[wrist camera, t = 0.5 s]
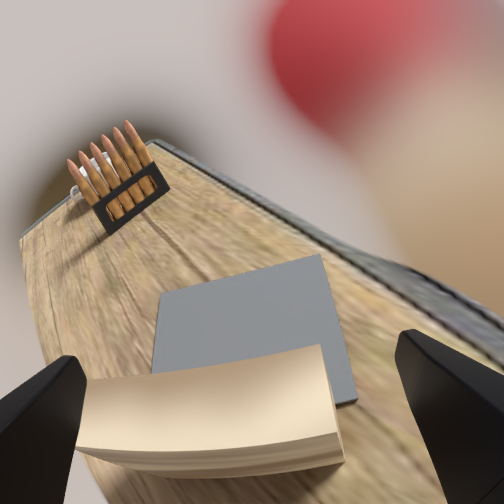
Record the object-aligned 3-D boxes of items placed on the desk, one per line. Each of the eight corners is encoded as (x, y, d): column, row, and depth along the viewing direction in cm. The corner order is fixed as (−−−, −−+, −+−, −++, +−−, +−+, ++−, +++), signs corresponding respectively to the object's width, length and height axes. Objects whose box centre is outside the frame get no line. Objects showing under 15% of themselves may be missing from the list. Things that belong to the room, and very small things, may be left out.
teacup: (114, 173, 56) (101, 150, 53) (133, 178, 52) (118, 152, 48) (75, 207, 52) (59, 184, 49) (88, 216, 48) (71, 190, 44)
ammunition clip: (165, 186, 46) (128, 115, 37) (170, 189, 44) (133, 116, 36) (106, 231, 42) (60, 162, 34) (110, 236, 41) (62, 165, 33)
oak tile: (345, 461, 16) (336, 431, 9) (167, 478, 18) (62, 444, 11) (336, 411, 18) (319, 343, 12) (167, 434, 20) (72, 380, 14)
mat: (358, 399, 18) (358, 397, 18) (150, 429, 21) (147, 427, 21) (320, 256, 28) (319, 253, 28) (162, 295, 30) (160, 293, 30)
